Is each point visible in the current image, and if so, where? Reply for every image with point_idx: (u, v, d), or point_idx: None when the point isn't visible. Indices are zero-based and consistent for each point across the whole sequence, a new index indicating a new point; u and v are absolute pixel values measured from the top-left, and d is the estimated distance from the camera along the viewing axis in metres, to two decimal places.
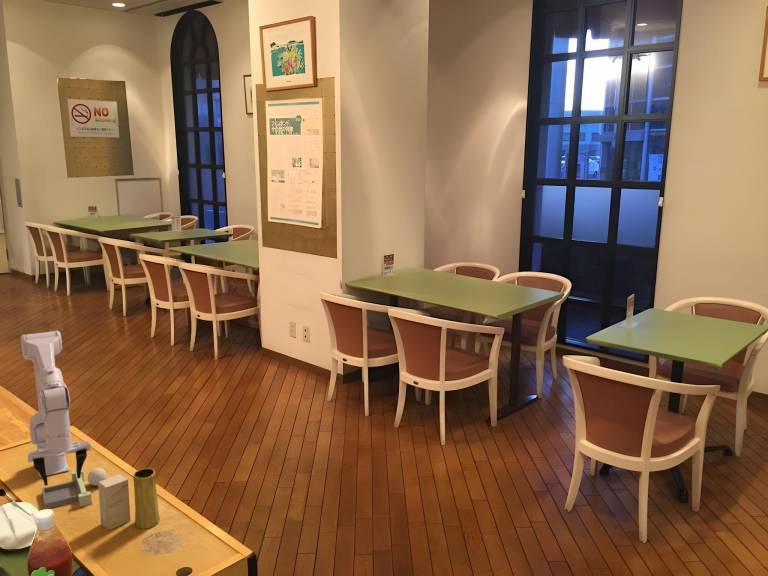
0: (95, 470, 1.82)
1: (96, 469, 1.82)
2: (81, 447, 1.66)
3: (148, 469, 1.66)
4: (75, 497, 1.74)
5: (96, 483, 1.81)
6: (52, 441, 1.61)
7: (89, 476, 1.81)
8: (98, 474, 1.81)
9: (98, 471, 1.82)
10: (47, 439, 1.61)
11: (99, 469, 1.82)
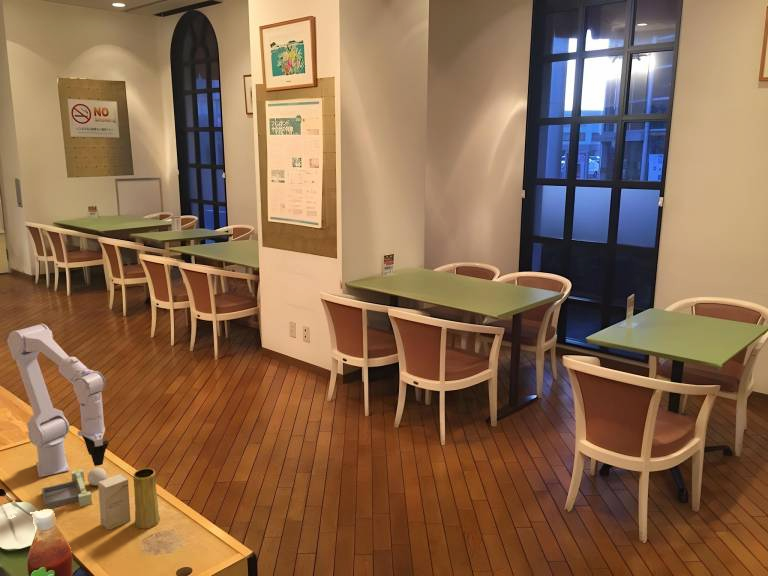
0: (95, 470, 1.82)
1: (96, 469, 1.82)
2: (91, 438, 1.75)
3: (148, 469, 1.66)
4: (75, 497, 1.74)
5: (96, 483, 1.81)
6: None
7: (89, 476, 1.81)
8: (98, 474, 1.81)
9: (98, 471, 1.82)
10: None
11: (99, 469, 1.82)
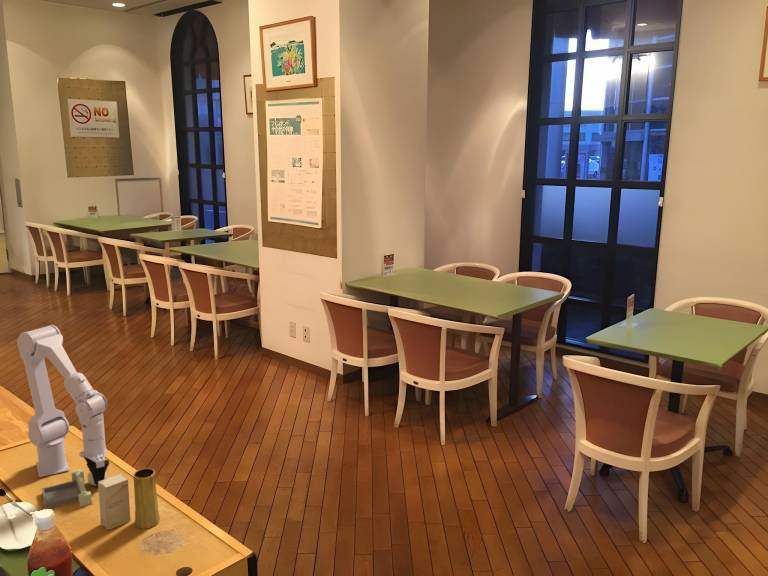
0: None
1: None
2: (93, 460, 1.76)
3: (148, 469, 1.66)
4: (75, 497, 1.74)
5: None
6: None
7: (89, 476, 1.81)
8: None
9: None
10: None
11: None
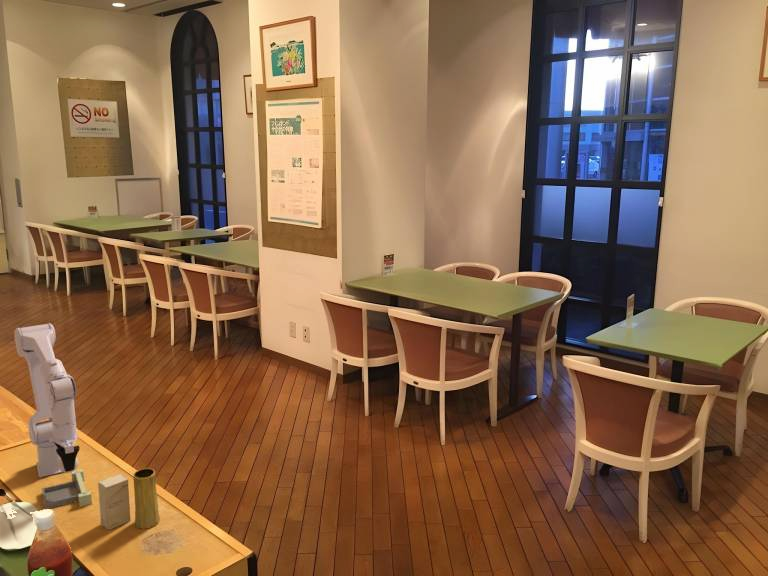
0: None
1: None
2: (62, 445, 1.70)
3: (148, 469, 1.66)
4: (75, 497, 1.74)
5: None
6: None
7: (60, 462, 1.74)
8: None
9: None
10: None
11: None
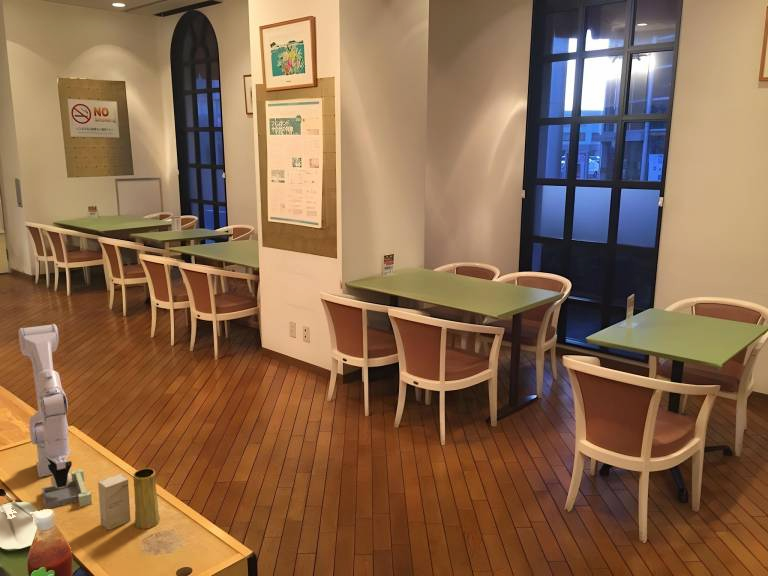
0: None
1: None
2: (54, 461, 1.69)
3: (148, 469, 1.66)
4: (75, 497, 1.74)
5: None
6: None
7: (52, 478, 1.74)
8: None
9: None
10: None
11: None
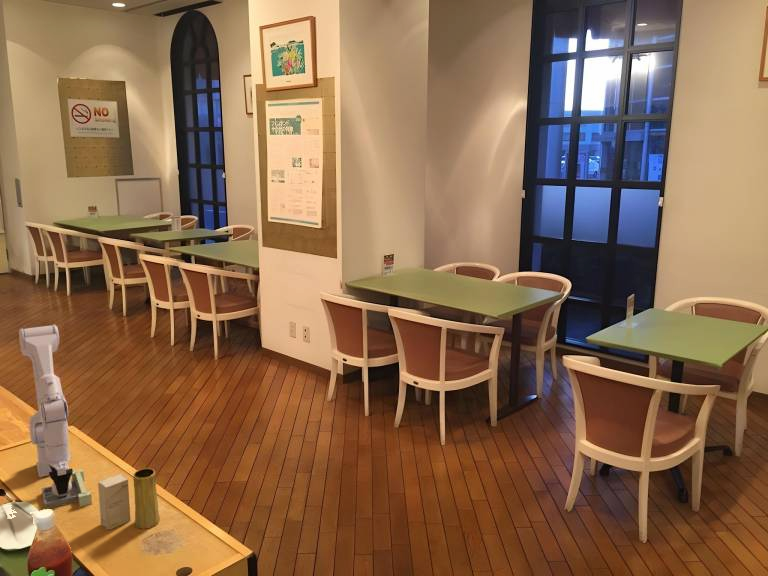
0: None
1: None
2: (54, 467, 1.69)
3: (148, 469, 1.66)
4: (75, 497, 1.74)
5: None
6: None
7: (53, 486, 1.74)
8: None
9: None
10: None
11: None
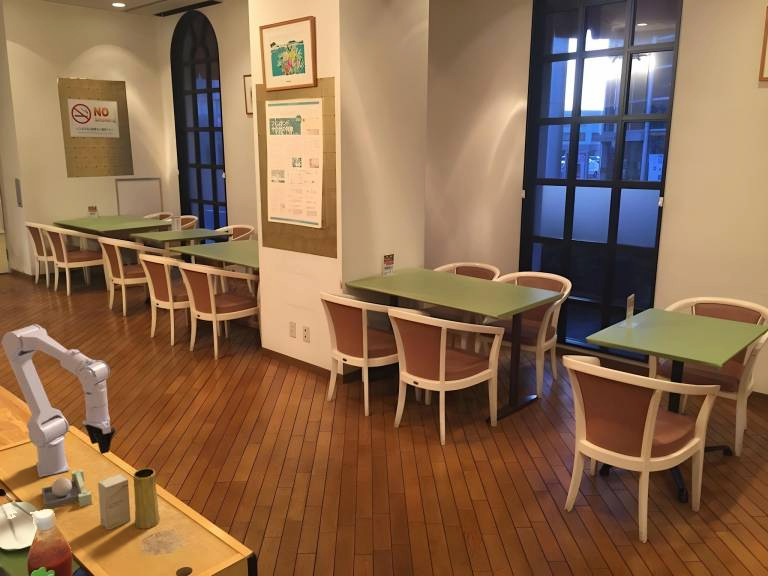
0: (59, 480, 1.75)
1: (61, 479, 1.76)
2: (99, 426, 1.77)
3: (148, 469, 1.66)
4: (75, 497, 1.74)
5: (60, 494, 1.74)
6: None
7: (53, 486, 1.74)
8: (63, 484, 1.75)
9: (62, 481, 1.75)
10: None
11: (64, 479, 1.76)
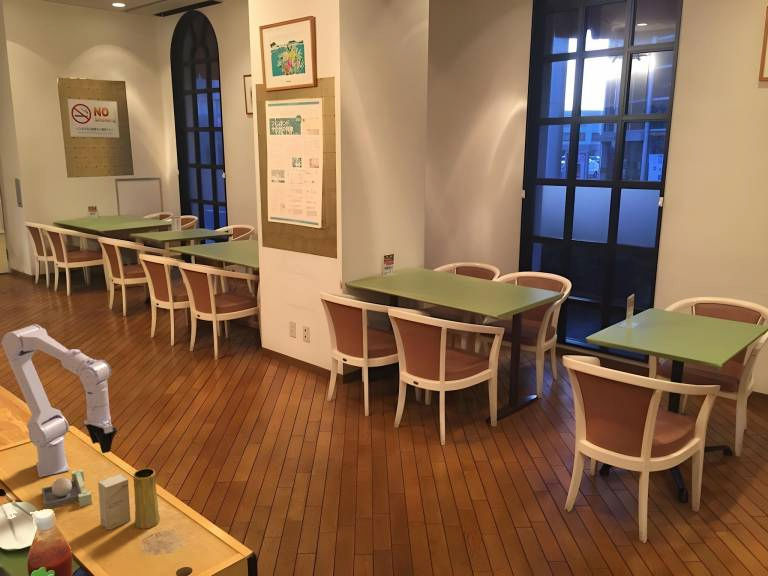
0: (59, 480, 1.75)
1: (61, 479, 1.76)
2: (100, 426, 1.77)
3: (148, 469, 1.66)
4: (75, 497, 1.74)
5: (60, 494, 1.74)
6: None
7: (53, 486, 1.74)
8: (63, 484, 1.75)
9: (62, 481, 1.75)
10: None
11: (64, 479, 1.76)
